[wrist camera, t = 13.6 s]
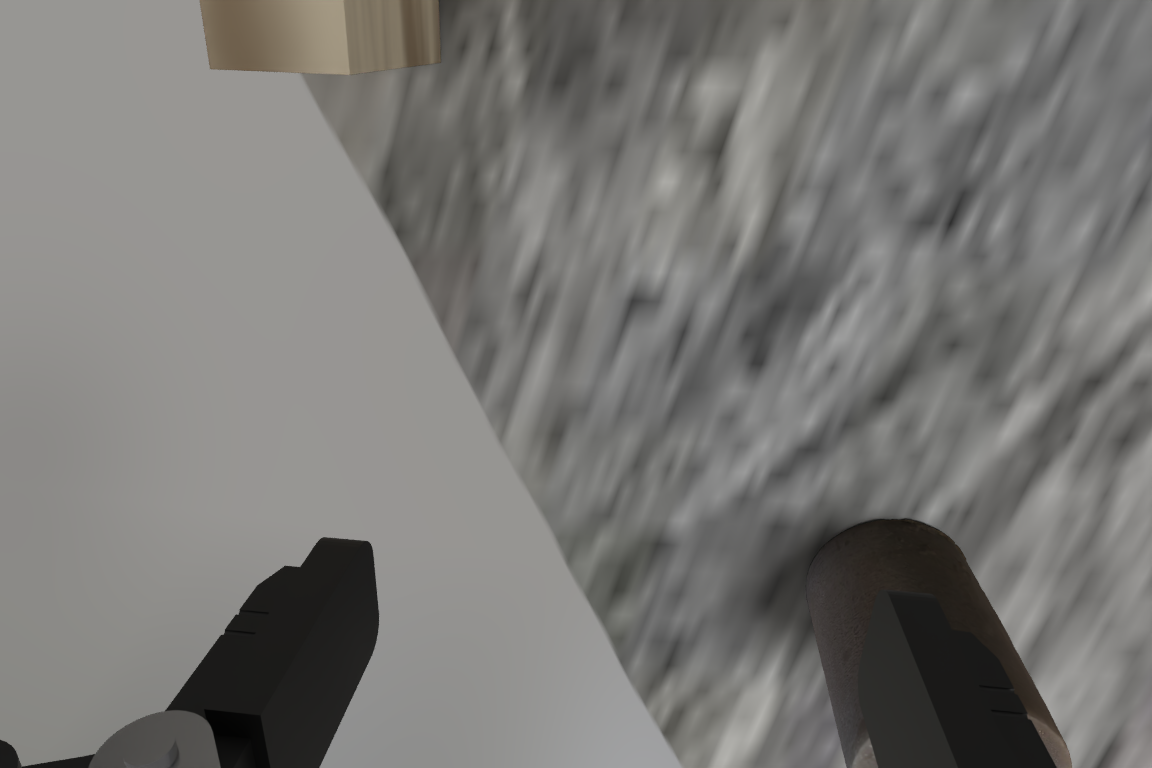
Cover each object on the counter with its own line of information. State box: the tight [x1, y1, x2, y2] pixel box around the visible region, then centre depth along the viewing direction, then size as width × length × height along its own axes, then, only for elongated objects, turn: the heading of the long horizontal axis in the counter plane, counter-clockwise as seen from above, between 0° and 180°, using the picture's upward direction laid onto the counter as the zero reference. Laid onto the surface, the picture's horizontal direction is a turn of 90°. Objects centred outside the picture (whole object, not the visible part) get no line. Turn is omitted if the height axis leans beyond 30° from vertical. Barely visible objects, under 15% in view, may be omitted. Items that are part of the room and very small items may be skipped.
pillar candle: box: [806, 519, 1072, 768], centre depth 41 cm, size 10×10×15 cm
